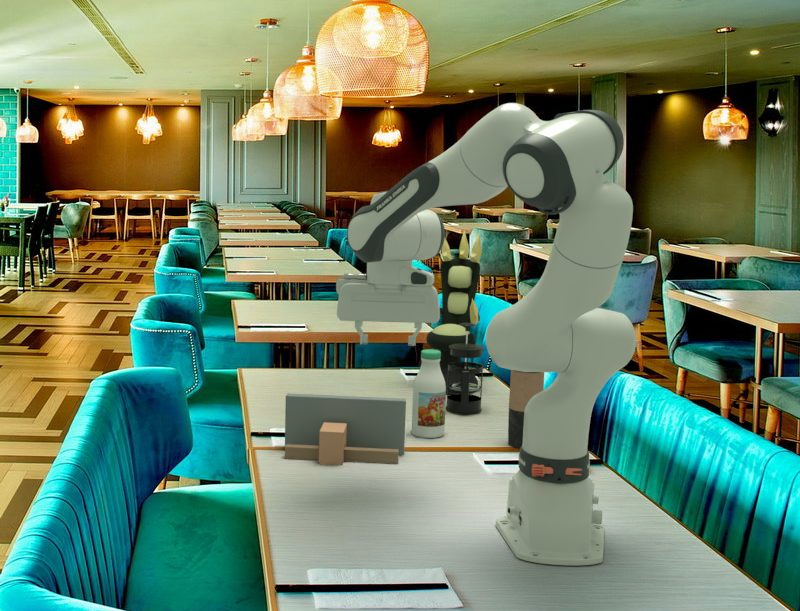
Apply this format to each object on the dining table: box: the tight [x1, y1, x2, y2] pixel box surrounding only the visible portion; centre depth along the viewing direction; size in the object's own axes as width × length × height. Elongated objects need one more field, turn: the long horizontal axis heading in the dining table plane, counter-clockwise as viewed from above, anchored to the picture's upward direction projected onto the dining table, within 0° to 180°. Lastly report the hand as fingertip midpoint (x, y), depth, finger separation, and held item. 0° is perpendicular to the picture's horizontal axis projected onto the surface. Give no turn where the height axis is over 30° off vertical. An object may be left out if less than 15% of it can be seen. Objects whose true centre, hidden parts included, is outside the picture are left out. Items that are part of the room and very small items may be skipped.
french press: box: [445, 323, 485, 416], centre depth 235 cm, size 12×9×23 cm
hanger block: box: [318, 422, 347, 466], centre depth 192 cm, size 7×5×7 cm
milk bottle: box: [411, 348, 447, 439], centre depth 212 cm, size 8×8×20 cm
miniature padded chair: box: [425, 229, 483, 395], centre depth 259 cm, size 19×22×45 cm
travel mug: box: [507, 370, 545, 449], centre depth 207 cm, size 8×8×20 cm
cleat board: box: [284, 393, 407, 464], centre depth 195 cm, size 8×26×12 cm, turn 88°
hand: (387, 344), depth 179 cm, fingers open, 8 cm apart
